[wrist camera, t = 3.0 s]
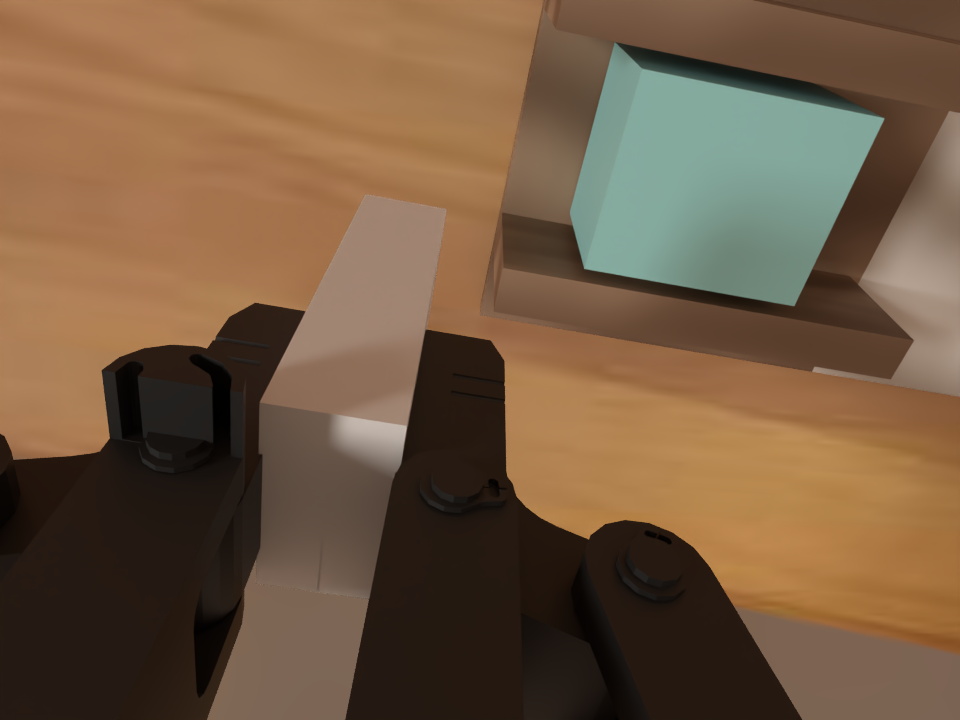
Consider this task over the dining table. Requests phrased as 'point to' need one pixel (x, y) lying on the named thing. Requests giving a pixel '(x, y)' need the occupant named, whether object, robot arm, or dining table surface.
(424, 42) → the dining table surface
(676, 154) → the block
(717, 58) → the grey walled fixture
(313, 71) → the dining table surface
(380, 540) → the robot arm
